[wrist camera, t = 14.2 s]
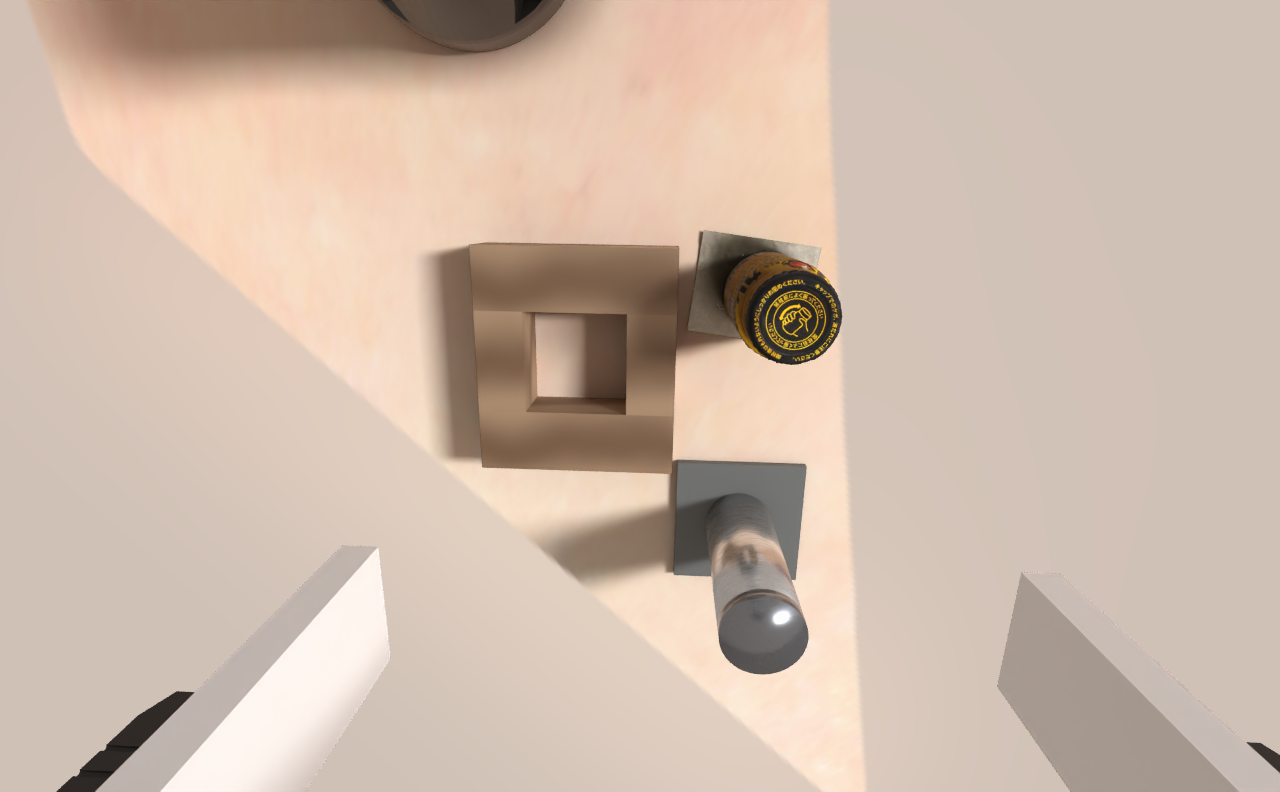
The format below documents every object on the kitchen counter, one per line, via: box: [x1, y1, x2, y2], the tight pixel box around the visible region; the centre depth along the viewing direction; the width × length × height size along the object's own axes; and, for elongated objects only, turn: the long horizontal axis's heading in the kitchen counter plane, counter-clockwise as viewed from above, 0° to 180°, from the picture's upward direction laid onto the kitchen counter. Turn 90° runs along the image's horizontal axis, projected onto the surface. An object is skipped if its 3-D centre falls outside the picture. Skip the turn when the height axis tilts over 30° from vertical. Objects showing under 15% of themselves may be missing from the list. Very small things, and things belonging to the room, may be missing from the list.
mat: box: [674, 460, 806, 580], centre depth 50 cm, size 10×10×1 cm
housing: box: [469, 243, 679, 474], centre depth 45 cm, size 16×14×4 cm
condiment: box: [687, 230, 842, 365], centre depth 39 cm, size 7×8×12 cm
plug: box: [706, 493, 808, 674], centre depth 43 cm, size 5×5×14 cm
